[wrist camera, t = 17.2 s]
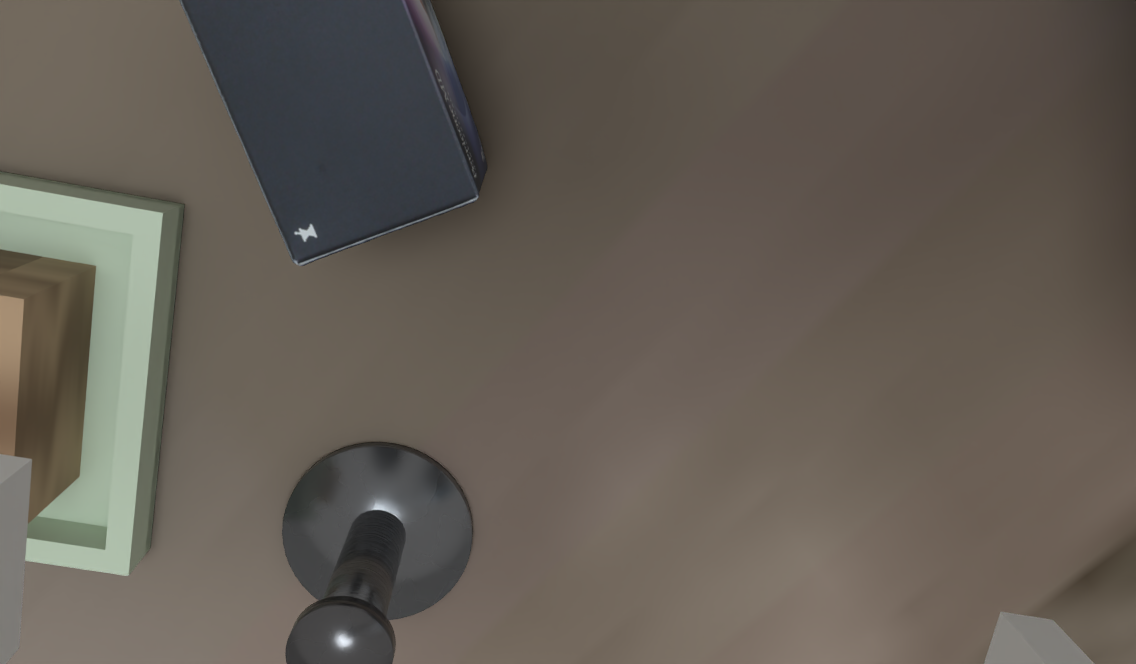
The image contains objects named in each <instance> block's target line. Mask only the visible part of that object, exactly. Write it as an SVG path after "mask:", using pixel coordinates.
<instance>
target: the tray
mask: <svg viewBox="0 0 1136 664" xmlns="http://www.w3.org/2000/svg"><path fill="white" fill-rule="evenodd" d="M184 205H185V204H180V203H174V202H169V201H163V200H157V199H152V198H146V197H141V196H135V195H130V194H124V193H119V192H113V191H107V190H102V189H96V188H91V187H85V186H80V185H74V184H68V183H63V182H57V181H52V180H46V179H41V178H35V177H29V176H24V175H18V174H13V173H7V172H2V171H0V249H2V250H7V251H13V252H19V253H25V254H31V255H36V256H42V257H48V258H54V259H60V260H65V261H71V262H77V263H83V264H89V265H94V266H96V275H95V288H94V301H93V313H92V326H91V339H90V351H89V364H88V377H87V389H86V402H85V415H84V428H83V440H82V453H81V466H80V477H79V478H78V479H76V480H75V481H74V482H73V483H72V484H71V485H70V486H69V487H68V488H67V489H65V490H64V491H63V492H62V493H61V494H60V495H59V496H58V497H57V498H56V499H55V500H53V501H52V502H51V503H50V504H49V505H48V506H47V507H46V508H45V509H44V510H43V511H41V512H40V513H39V514H38V515H37V516H36V517H35V518H34V519H33V520H32V521H31V522H29V523H28V527H27V542H26V557H25V561H31V562H38V563H45V564H52V565H58V566H65V567H72V568H78V569H85V570H92V571H98V572H105V573H112V574H118V575H125V576H129V575H130V573H131V572H132V571H133V570H134V568H135V567H136V566H137V564H138V563H139V562H140V561H141V559H142V558H143V557H144V556H145V554H146V553H147V552H148V550H149V549H150V546H151V536H152V526H153V516H154V506H155V496H156V486H157V476H158V466H159V456H160V446H161V436H162V426H163V416H164V406H165V396H166V386H167V376H168V366H169V356H170V346H171V336H172V326H173V316H174V305H175V295H176V285H177V275H178V265H179V255H180V245H181V235H182V225H183V215H184Z"/></svg>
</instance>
